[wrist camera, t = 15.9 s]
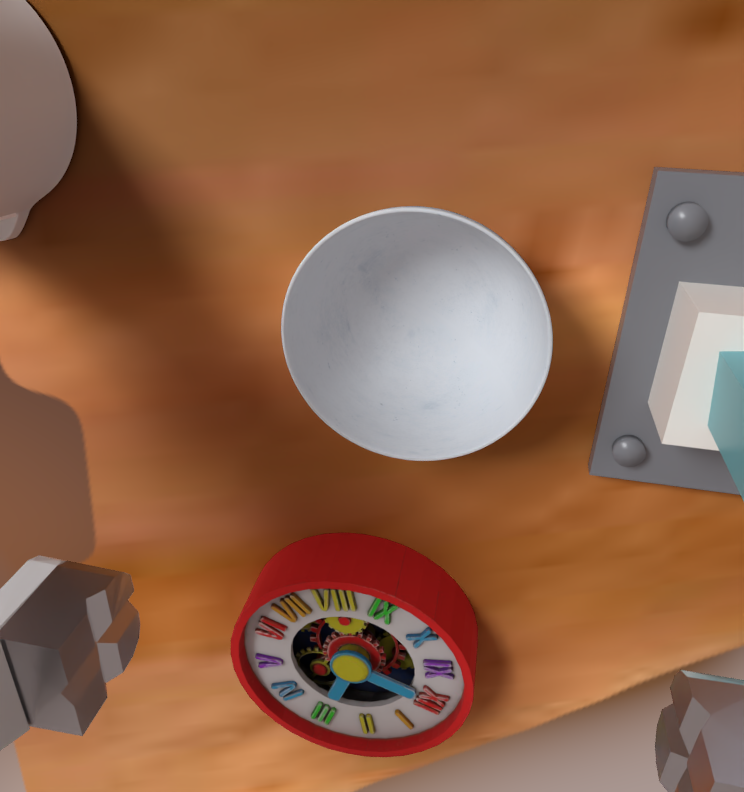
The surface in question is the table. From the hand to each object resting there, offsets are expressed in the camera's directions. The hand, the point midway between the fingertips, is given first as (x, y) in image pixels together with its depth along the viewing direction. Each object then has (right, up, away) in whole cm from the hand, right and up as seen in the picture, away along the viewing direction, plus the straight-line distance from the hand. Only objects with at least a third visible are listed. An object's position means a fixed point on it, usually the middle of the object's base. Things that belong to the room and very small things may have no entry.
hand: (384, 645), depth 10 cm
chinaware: (+4, +10, +34) cm, 35 cm away
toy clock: (-1, -16, +49) cm, 51 cm away
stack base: (+22, +7, +31) cm, 38 cm away
